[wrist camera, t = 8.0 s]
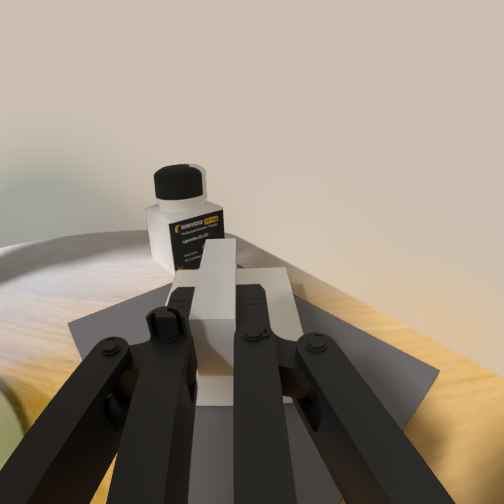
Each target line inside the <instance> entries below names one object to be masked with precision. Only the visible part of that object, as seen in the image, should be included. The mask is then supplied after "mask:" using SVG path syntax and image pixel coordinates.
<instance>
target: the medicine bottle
mask: <svg viewBox="0 0 504 504" xmlns="http://www.w3.org/2000/svg"><path fill="white" fill-rule="evenodd" d="M154 183H155V192H156V202H157V205H153V206H150V207H147V208H146V210H145V212H146V219H147V226H148V233H149V240H150V246H151V252H152V258H153V259H154V260H155V261H156V262H157V263H159V264H160V265H161V266H162V267H163V268H164V269H166V270H167V271H168V272H169V273H170V274H171V275H173V276H174V277H175V275H176V273H177V270H199V268H200V264H201V259H202V255H203V251H204V246H205V242H206V239H225V237H224V219H223V208H222V207H221V206H219V205H217V204H214V203H211V202H208V201H205V200H206V199H207V187H206V170H205V169H204V168H203V167H201V166H199V165H196V164H178V165H171V166H166V167H163V168H161V169H160V170H158V171H157V172H156V173H155V174H154Z"/></svg>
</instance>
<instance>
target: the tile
mask: <svg viewBox="0 0 504 504" xmlns="http://www.w3.org/2000/svg"><path fill="white" fill-rule="evenodd" d="M198 273H199V270H177V273H176V275H175V278H174V281H173V284H172V287H171V290H170V292H169V295H168V298H167V301H166V304H165V306H167V304H168V302H169V298H170V295H171V293H172V292H173V291H174V290H175V289H176V288H177V287H195V286H196V282H197V277H198ZM237 277H238V284H260V285H261V286H262V287H263V288H264V289H265V292H266V299H267V306H268V313H269V320H270V326H271V329H272V331H273V332H274V334H276V335H277V336H279V337H281V338H283V339H287V340H292V341H297V340H298V339H299V338H300V337H301V336H302V335H303V331H302V327H301V323H300V319H299V315H298V312H297V308H296V304H295V300H294V296H293V293H292V289H291V285H290V281H289V278H288V274H287V270H286V267H274V268H243V269H237ZM196 379H197V384H198V391H197V401H196V406H233V376H199V375H198V369H197V375H196ZM283 403H293V401H292V398H291V397H286V396H283Z"/></svg>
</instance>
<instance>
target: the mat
mask: <svg viewBox="0 0 504 504" xmlns="http://www.w3.org/2000/svg"><path fill="white" fill-rule="evenodd" d="M243 268H244V267H242V266H240V265H238V264H237V269H243ZM172 284H173V283H170V284H168V285H165V286H162V287H160V288H157V289H155V290H152V291H149V292H147V293H144V294H142V295H139V296H137V297H134V298H131V299H129V300H126V301H124V302H121V303H118V304H116V305H113V306H111V307H108V308H106V309H103V310H100V311H98V312H95V313H93V314H90V315H87V316H85V317H82V318H80V319H77V320H75V321H72V322H69V323H68V326H69V328H70V331H71V334H72V336H73V339H74V341H75V344H76V346H77V348H78V351H79V353H80V356H81V358H82V360H84V358H85V357H86V356H87V355H88V354H89V352H90V351H91V350H92V349H93V347H94V346H95V345H96V344H97V343H98V342H99V341H101V340H103V339H105V338H108V337H113V336H115V337H121V338H123V339H125V340H126V341H127V342H128V344H129V345H134V344H139V343H143V342H146V341H148V340H150V337H151V336H150V332H149V328H148V324H147V320H146V316H147V315H148V313H149V312H150V311H152V310H153V309H156V308H158V307H162V306H165V304H166V301H167V298H168V295H169V292H170V290H171V287H172ZM293 296H294V300H295V304H296V308H297V312H298V315H299V319H300V323H301V327H302V331H303V335H304V334H307V333H313V332H318V333H324V334H326V335H328V336H330V337H331V338H332V339H334V340H335V342H336V343H337V344H338V346H339V347H340V348H341V350H342V351H343V352H344V354H345V355H346V356H347V357H348V359H349V360H350V361H351V363H352V364H353V365H354V367H355V368H356V369H357V371H358V372H359V373H360V375H361V376H362V377H363V379H364V380H365V381H366V383H367V384H368V385H369V387H370V388H371V389H372V391H373V392H374V393H375V395H376V396H377V397H378V399H379V400H380V401H381V403H382V404H383V405H384V407H385V408H386V409H387V411H388V412H389V413H390V415H391V416H392V417H393V419H394V420H395V422H396V423H397V424H398V426H399V427H400V428H401V430H402V429H403V427H404V426H405V424H406V423H407V422H408V420H409V419H410V417H411V416H412V415H413V413H414V412H415V410H416V409H417V407H418V406H419V404H420V403H421V401H422V400H423V398H424V397H425V395H426V394H427V392H428V391H429V389H430V388H431V386H432V384H433V383H434V381H435V379H436V378H437V376H438V374H439V372H440V370H438V369H436V368H434V367H432V366H430V365H428V364H426V363H424V362H422V361H420V360H418V359H416V358H415V357H413V356H411V355H409V354H407V353H405V352H403V351H401V350H399V349H397V348H395V347H393V346H391V345H389V344H387V343H385V342H383V341H381V340H379V339H377V338H376V337H374V336H372V335H370V334H368V333H366V332H364V331H362V330H360V329H358V328H356V327H354V326H352V325H350V324H349V323H347V322H345V321H343V320H341V319H339V318H337V317H335V316H333V315H331V314H329V313H328V312H326V311H324V310H322V309H320V308H318V307H316V306H314V305H312V304H311V303H309V302H307V301H305V300H303V299H301V298H299V297H297V296H296V295H294V294H293ZM284 410H285V417H286V424H287V431H288V439H289V446H290V453H291V461H292V468H293V475H294V483H295V490H296V498H297V504H337V503H338V502H339V501H340V500H341V499H342V498H343V497H342V495H341V493H340V491H339V490H338V488H337V486H336V484H335V482H334V480H333V478H332V477H331V475H330V473H329V471H328V469H327V467H326V465H325V463H324V461H323V460H322V458H321V456H320V454H319V452H318V450H317V448H316V446H315V444H314V442H313V440H312V439H311V437H310V435H309V433H308V431H307V429H306V427H305V425H304V423H303V421H302V419H301V417H300V415H299V413H298V411H297V409H296V407H295V405H294V403H284ZM188 504H234V484H233V406H196V411H195V421H194V432H193V443H192V455H191V468H190V481H189V495H188Z"/></svg>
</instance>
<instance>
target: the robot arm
mask: <svg viewBox="0 0 504 504" xmlns="http://www.w3.org/2000/svg"><path fill="white" fill-rule="evenodd" d="M146 320H147V324H148V328H149V332H150V336H151V337H150V340H148V341H146V342H143V343H139V344H134V345H129V344H128V342H127V341H126V340H125V339H123V338H121V337H115V336H113V337H108V338H105V339H103V340H101V341H99V342H98V343H97V344H96V345H95V346H94V347H93V349H92V350H91V351H90V352H89V354H88V355H87V356H86V357H85V358H84V360H83V361H82V362H81V363H80V365H79V366H78V367H77V368H76V370H75V371H74V372H73V373H72V375H71V376H70V377H69V378H68V380H67V381H66V382H65V383H64V385H63V386H62V387H61V388H60V390H59V391H58V392H57V394H56V395H55V396H54V397H53V399H52V400H51V401H50V403H49V404H48V405H47V407H46V408H45V409H44V411H43V412H42V413H41V415H40V416H39V417H38V419H37V420H36V421H35V423H34V424H33V425H32V427H31V428H30V429H29V431H28V432H27V434H26V435H25V436H24V438H23V439H22V440H21V442H20V443H19V445H18V446H17V448H16V449H15V450H14V452H13V453H12V455H11V456H10V458H9V459H8V461H7V462H6V463H5V465H4V466H3V468H2V469H1V471H0V504H90V502H91V500H92V498H93V496H94V494H95V492H96V491H97V489H98V487H99V485H100V483H101V481H102V479H103V478H104V476H105V474H106V472H107V470H108V468H109V466H110V465H111V463H112V461H113V459H114V457H115V455H116V454H117V457H116V461H115V466H114V470H113V474H112V479H111V483H110V488H109V493H108V497H107V502H106V504H188V495H189V481H190V468H191V455H192V443H193V432H194V421H195V411H196V401H197V391H198V384H197V379H196V375H197V369H198V375H199V376H233V484H234V504H297V498H296V490H295V483H294V475H293V468H292V461H291V453H290V446H289V439H288V431H287V424H286V417H285V410H284V403H283V396H286V397H291V398H292V401H293V403H294V405H295V407H296V409H297V411H298V413H299V415H300V417H301V419H302V421H303V423H304V425H305V427H306V429H307V431H308V433H309V435H310V437H311V439H312V440H313V442H314V444H315V446H316V448H317V450H318V452H319V454H320V456H321V458H322V460H323V461H324V463H325V465H326V467H327V469H328V471H329V473H330V475H331V477H332V478H333V480H334V482H335V484H336V486H337V488H338V490H339V491H340V493H341V495H342V497H343V499H344V501H345V502H346V504H455V502H454V501H453V499H452V498H451V497H450V495H449V494H448V492H447V491H446V490H445V488H444V487H443V486H442V484H441V483H440V481H439V480H438V479H437V477H436V476H435V475H434V473H433V472H432V470H431V469H430V468H429V466H428V465H427V464H426V462H425V461H424V459H423V458H422V457H421V455H420V454H419V453H418V451H417V450H416V449H415V447H414V446H413V444H412V443H411V442H410V440H409V439H408V438H407V436H406V435H405V434H404V432H403V431H402V430H401V428H400V427H399V426H398V424H397V423H396V422H395V420H394V419H393V417H392V416H391V415H390V413H389V412H388V411H387V409H386V408H385V407H384V405H383V404H382V403H381V401H380V400H379V399H378V397H377V396H376V395H375V393H374V392H373V391H372V389H371V388H370V387H369V385H368V384H367V383H366V381H365V380H364V379H363V377H362V376H361V375H360V373H359V372H358V371H357V369H356V368H355V367H354V365H353V364H352V363H351V361H350V360H349V359H348V357H347V356H346V355H345V354H344V352H343V351H342V350H341V348H340V347H339V346H338V344H337V343H336V342H335V340H334V339H332V338H331V337H330V336H328V335H326V334H324V333H318V332H313V333H307V334H304V335H302V336H301V337H300V338H299V339H298V340H297V341H292V340H287V339H283V338H281V337H279V336H277V335H276V334H274V332H273V331H272V329H271V326H270V320H269V313H268V306H267V299H266V292H265V289H264V288H263V287H262V286H261V285H260V284H238V277H237V255H236V238H232V239H206V242H205V246H204V251H203V255H202V259H201V264H200V268H199V273H198V277H197V282H196V286H195V287H177V288H176V289H175V290H174V291H173V292H172V293H171V295H170V298H169V302H168V304H167V306H162V307H158V308H156V309H153V310H152V311H150V312H149V313H148V315H147V316H146ZM117 452H118V453H117Z"/></svg>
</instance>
